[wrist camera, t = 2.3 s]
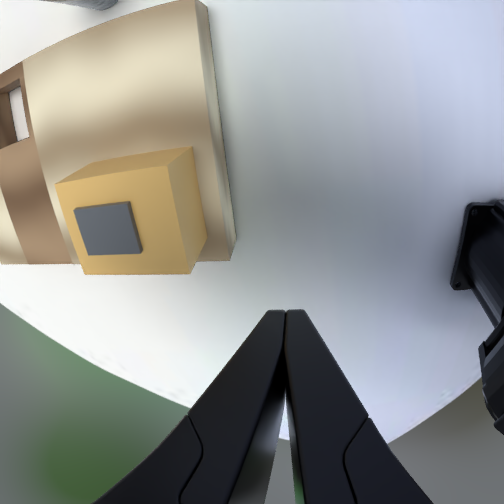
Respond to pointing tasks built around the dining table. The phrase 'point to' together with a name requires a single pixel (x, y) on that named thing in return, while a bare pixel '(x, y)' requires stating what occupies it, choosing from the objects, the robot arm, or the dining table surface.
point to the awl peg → (88, 3)
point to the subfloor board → (111, 123)
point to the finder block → (135, 213)
